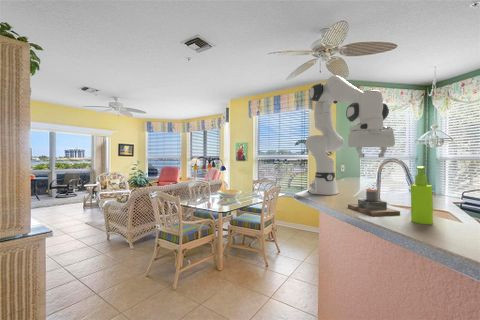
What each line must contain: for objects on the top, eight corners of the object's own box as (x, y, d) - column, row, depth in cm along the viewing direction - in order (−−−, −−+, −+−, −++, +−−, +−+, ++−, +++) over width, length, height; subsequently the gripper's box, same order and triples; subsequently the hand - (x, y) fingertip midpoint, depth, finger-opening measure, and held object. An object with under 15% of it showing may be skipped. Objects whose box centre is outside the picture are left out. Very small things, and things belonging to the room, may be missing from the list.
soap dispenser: (409, 222, 75) (409, 166, 76) (412, 218, 80) (411, 165, 80) (432, 226, 71) (431, 166, 71) (433, 221, 76) (432, 165, 76)
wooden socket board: (347, 207, 100) (347, 197, 100) (371, 206, 102) (371, 197, 102) (372, 216, 85) (372, 204, 85) (400, 214, 86) (399, 203, 86)
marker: (364, 206, 95) (364, 188, 95) (372, 206, 95) (372, 188, 95) (370, 208, 91) (370, 190, 91) (379, 208, 91) (379, 189, 91)
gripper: (387, 127, 99) (387, 157, 99) (345, 127, 97) (346, 157, 97) (398, 125, 93) (398, 157, 93) (354, 125, 91) (354, 157, 91)
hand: (371, 157), depth 95 cm, fingers open, 8 cm apart
